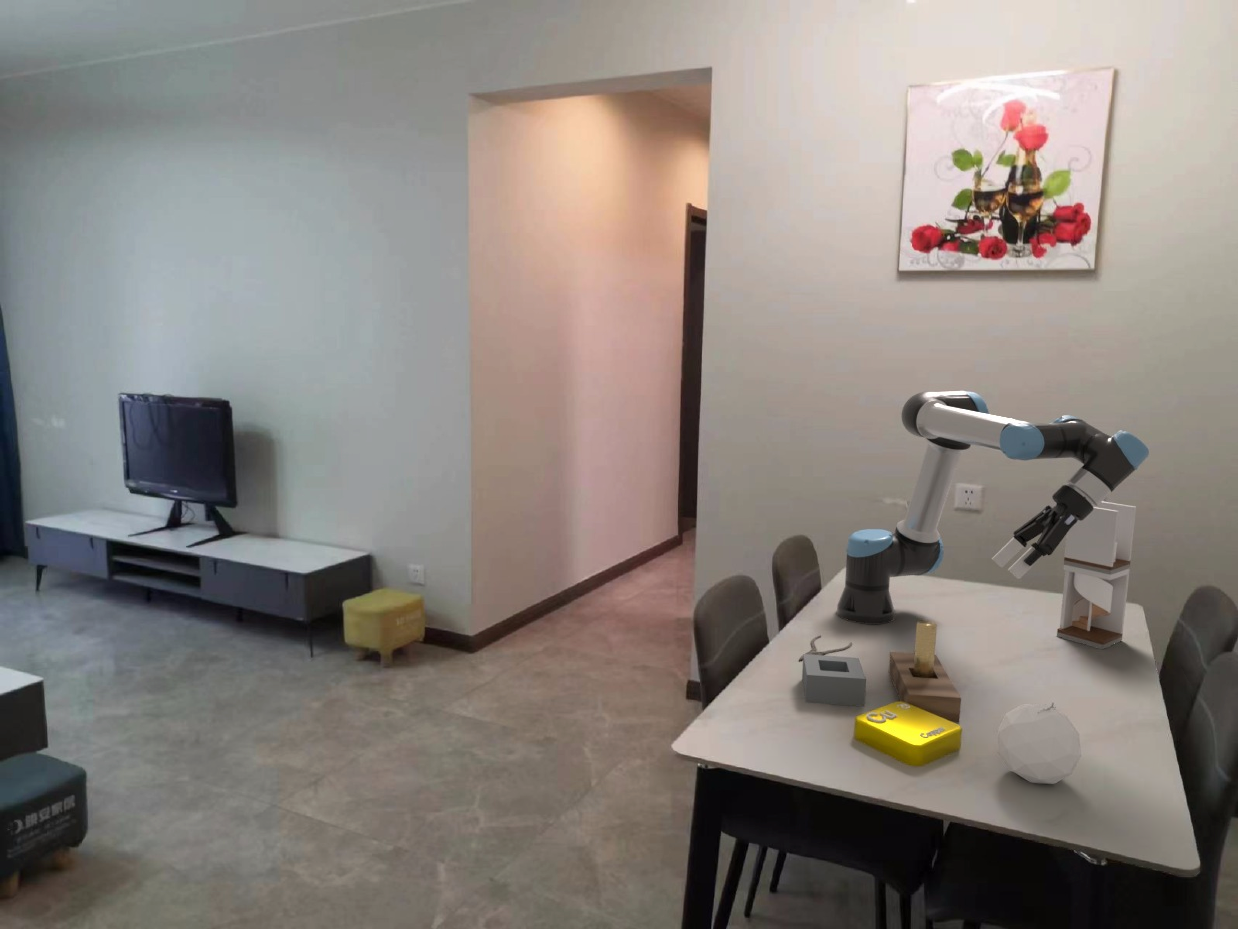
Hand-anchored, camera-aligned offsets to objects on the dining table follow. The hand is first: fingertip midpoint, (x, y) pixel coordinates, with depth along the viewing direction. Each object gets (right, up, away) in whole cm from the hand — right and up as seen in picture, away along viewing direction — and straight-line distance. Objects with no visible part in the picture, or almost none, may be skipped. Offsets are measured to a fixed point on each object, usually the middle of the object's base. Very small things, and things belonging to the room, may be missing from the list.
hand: (1004, 568), depth 184 cm
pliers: (-31, -24, +29) cm, 49 cm away
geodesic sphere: (-8, -33, -30) cm, 46 cm away
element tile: (-26, -31, -17) cm, 44 cm away
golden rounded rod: (-16, -28, +4) cm, 32 cm away
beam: (-16, -28, +4) cm, 32 cm away
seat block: (-35, -27, +5) cm, 45 cm away
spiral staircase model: (+40, -23, +41) cm, 62 cm away
